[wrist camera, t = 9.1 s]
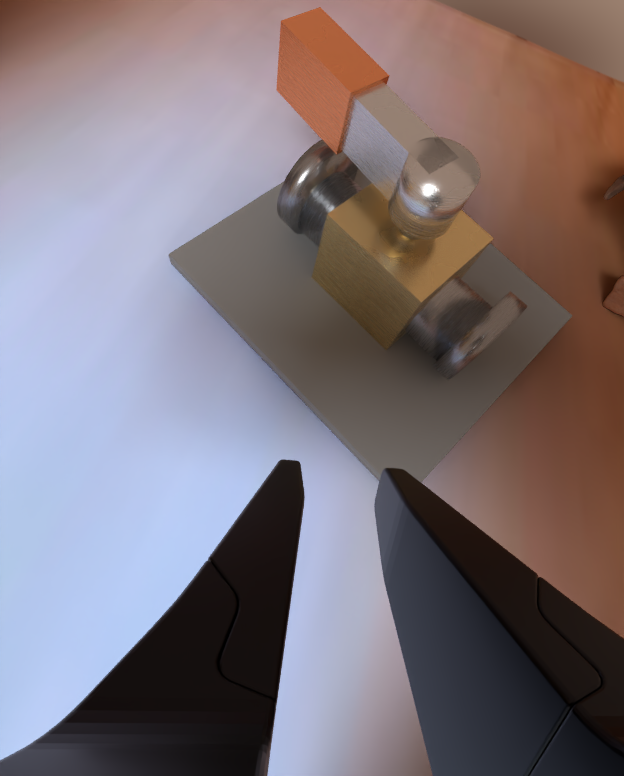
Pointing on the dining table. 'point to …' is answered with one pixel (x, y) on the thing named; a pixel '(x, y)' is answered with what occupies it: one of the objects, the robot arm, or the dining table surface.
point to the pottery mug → (620, 297)
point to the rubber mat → (359, 340)
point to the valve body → (392, 264)
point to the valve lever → (373, 125)
